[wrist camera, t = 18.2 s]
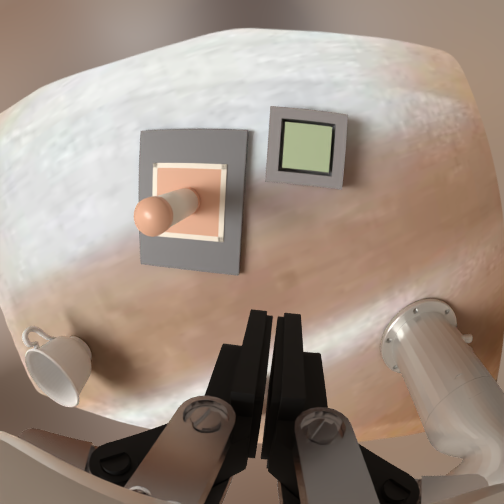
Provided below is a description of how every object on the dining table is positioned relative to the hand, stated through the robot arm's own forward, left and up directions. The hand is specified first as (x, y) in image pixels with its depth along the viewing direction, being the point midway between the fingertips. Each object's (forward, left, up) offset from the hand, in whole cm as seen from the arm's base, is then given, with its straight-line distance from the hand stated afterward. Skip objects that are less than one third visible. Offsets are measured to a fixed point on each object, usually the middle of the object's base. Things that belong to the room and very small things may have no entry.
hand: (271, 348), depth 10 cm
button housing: (-2, -8, -25) cm, 26 cm away
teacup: (+34, +25, -25) cm, 49 cm away
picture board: (+11, -1, -25) cm, 27 cm away
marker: (+11, -1, -24) cm, 27 cm away
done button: (-2, -8, -24) cm, 25 cm away
